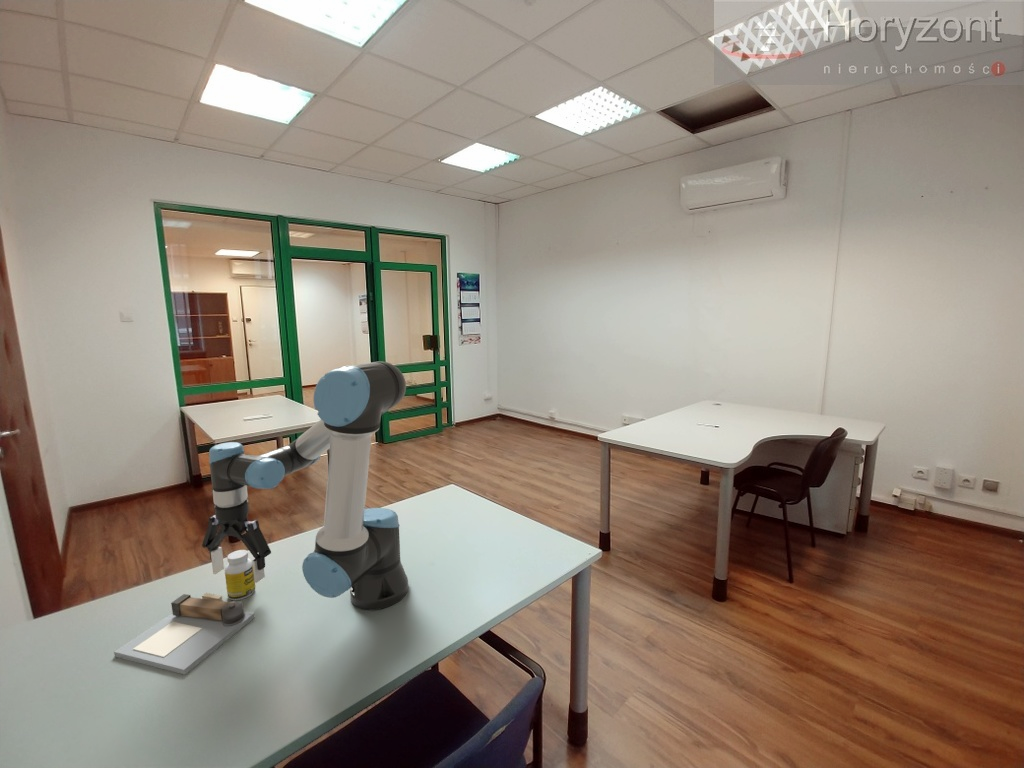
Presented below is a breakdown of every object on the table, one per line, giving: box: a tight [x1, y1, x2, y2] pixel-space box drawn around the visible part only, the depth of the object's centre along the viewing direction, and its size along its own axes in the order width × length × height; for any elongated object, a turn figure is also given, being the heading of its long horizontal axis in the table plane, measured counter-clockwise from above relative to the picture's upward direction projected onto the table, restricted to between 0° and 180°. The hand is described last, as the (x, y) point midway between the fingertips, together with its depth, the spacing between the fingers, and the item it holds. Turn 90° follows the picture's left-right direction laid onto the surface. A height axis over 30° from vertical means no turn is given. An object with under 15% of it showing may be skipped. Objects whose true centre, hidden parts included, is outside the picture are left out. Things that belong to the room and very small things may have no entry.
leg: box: [171, 593, 245, 624], centre depth 108 cm, size 18×4×4 cm, turn 80°
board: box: [113, 592, 255, 675], centre depth 103 cm, size 20×18×4 cm
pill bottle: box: [224, 549, 256, 601], centre depth 118 cm, size 6×6×12 cm
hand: (238, 575), depth 118 cm, fingers open, 13 cm apart
